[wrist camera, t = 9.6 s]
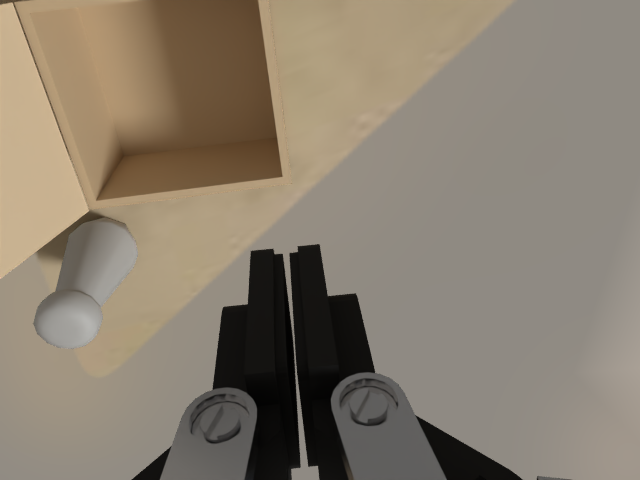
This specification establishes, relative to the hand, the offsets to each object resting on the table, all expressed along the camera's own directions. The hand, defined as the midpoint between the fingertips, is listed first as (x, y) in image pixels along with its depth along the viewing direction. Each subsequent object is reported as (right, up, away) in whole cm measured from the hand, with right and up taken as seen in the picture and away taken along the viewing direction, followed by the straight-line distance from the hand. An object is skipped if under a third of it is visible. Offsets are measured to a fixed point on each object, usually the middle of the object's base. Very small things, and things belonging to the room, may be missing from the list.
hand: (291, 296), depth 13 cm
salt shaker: (-18, +2, +33) cm, 38 cm away
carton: (-10, +14, +27) cm, 32 cm away
